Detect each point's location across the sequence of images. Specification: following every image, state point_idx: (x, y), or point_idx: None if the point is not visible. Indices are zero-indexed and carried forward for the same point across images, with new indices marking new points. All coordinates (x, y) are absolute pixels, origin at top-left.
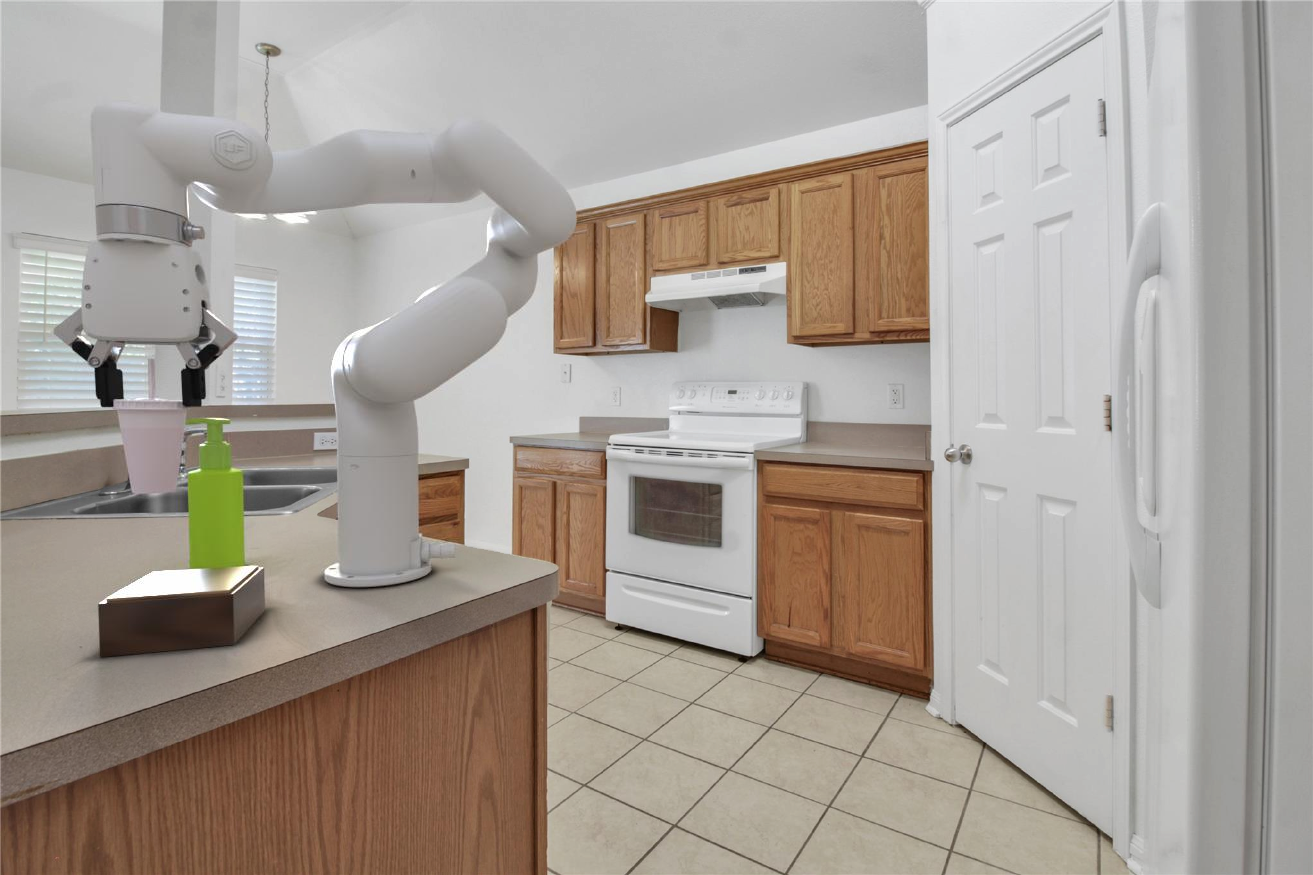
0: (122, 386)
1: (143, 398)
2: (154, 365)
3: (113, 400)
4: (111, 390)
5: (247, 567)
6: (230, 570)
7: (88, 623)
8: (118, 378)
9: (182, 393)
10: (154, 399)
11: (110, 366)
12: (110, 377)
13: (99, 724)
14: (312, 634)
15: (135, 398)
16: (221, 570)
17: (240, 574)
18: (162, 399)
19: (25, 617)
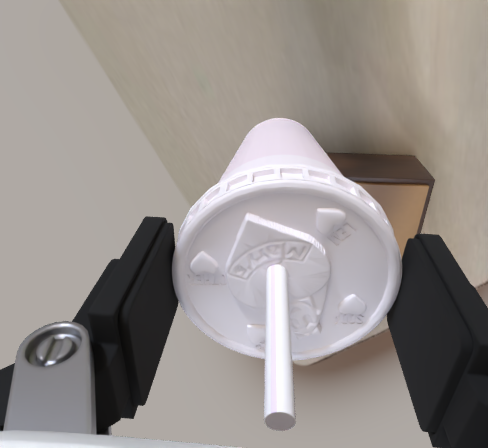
0: (151, 268)
1: (263, 306)
2: (293, 388)
3: (183, 309)
4: (164, 324)
5: (414, 194)
6: (393, 204)
7: (220, 141)
8: (145, 319)
9: (397, 348)
10: (308, 334)
11: (125, 394)
12: (152, 368)
13: (327, 358)
14: (461, 251)
15: (235, 297)
16: (382, 201)
17: (408, 230)
18: (317, 291)
19: (129, 89)
